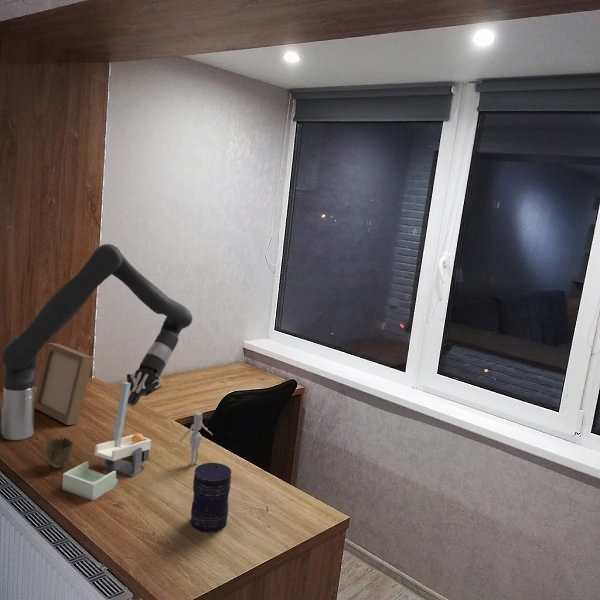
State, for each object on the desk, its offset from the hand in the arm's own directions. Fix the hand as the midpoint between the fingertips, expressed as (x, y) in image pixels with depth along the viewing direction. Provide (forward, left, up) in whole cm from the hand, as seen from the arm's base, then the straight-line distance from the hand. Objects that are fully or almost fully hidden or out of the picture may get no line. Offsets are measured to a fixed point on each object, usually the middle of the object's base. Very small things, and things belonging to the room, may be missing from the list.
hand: (130, 404), depth 179 cm
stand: (+3, -3, -18) cm, 19 cm away
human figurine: (+20, +8, -18) cm, 28 cm away
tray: (+3, -20, -18) cm, 27 cm away
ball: (+3, +1, -11) cm, 12 cm away
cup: (-13, -16, -18) cm, 28 cm away
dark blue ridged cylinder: (+41, -17, -18) cm, 48 cm away
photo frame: (-41, +16, -19) cm, 48 cm away
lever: (+3, -6, -12) cm, 14 cm away
